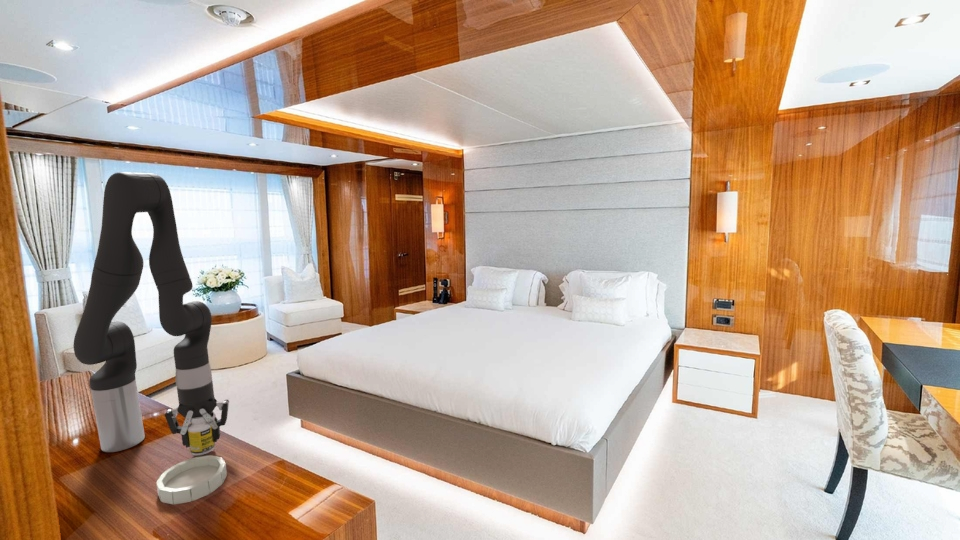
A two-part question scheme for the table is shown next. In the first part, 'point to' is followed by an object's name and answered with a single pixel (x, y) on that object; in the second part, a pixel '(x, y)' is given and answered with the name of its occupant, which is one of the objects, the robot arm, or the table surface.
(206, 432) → the supplement bottle
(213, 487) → the sage bowl
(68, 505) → the table surface
